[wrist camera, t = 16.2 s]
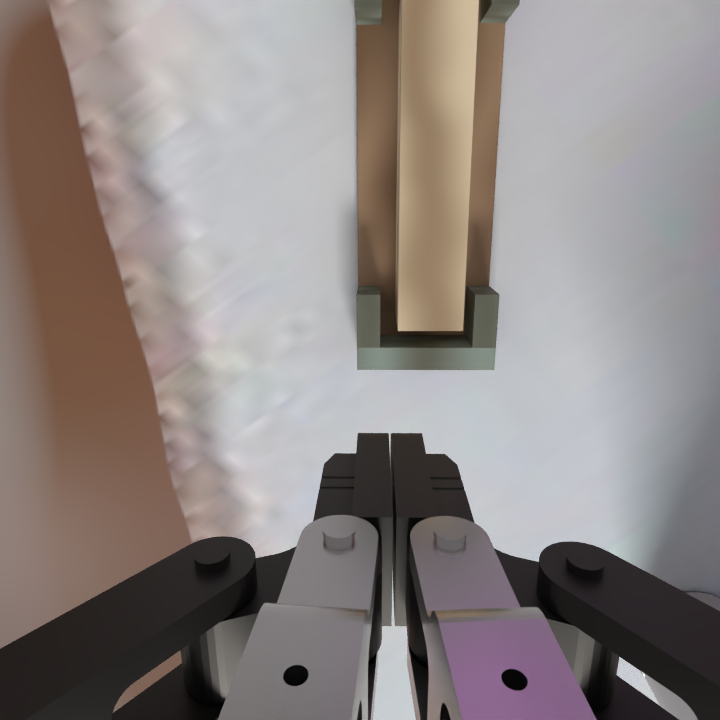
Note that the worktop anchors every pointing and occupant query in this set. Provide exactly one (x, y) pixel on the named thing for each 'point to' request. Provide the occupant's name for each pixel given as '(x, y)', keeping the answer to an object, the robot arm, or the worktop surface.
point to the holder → (379, 192)
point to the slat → (434, 160)
